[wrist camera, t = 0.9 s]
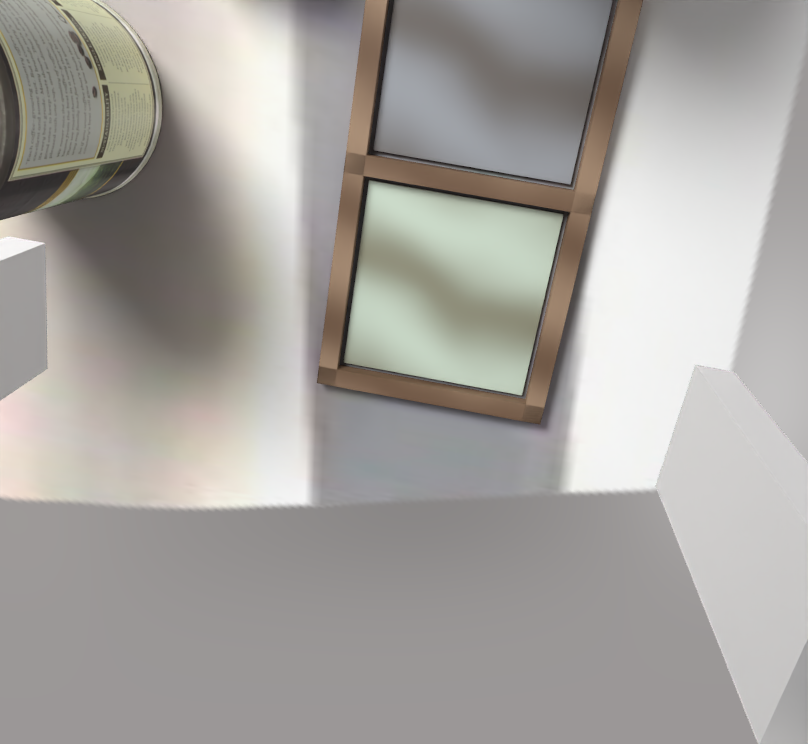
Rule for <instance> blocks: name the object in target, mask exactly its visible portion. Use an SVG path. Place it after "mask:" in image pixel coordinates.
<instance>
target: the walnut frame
mask: <svg viewBox="0 0 808 744" xmlns="http://www.w3.org/2000/svg"><path fill="white" fill-rule="evenodd" d="M612 1H613V0H394V5H393V13H392V20H391V27H390V34H389V41H388V48H387V56H386V63H385V70H384V77H383V84H382V92H381V99H380V106H379V113H378V120H377V128H376V135H375V142H374V149H373V150H375V151H381V152H386V153H392V154H398V155H404V156H409V157H415V158H421V159H427V160H432V161H438V162H444V163H450V164H456V165H461V166H467V167H473V168H479V169H484V170H490V171H496V172H502V173H507V174H513V175H519V176H525V177H531V178H536V179H542V180H548V181H554V182H559V183H565V184H571V180H572V175H573V171H574V167H575V162H576V158H577V154H578V149H579V145H580V141H581V136H582V132H583V128H584V123H585V119H586V115H587V110H588V106H589V101H590V97H591V93H592V88H593V84H594V80H595V75H596V71H597V67H598V62H599V58H600V54H601V49H602V45H603V41H604V36H605V32H606V28H607V23H608V19H609V15H610V10H611V6H612ZM642 2H643V0H618V2H617V6H616V10H615V15H614V19H613V23H612V27H611V32H610V36H609V40H608V45H607V49H606V53H605V58H604V62H603V66H602V71H601V75H600V79H599V83H598V88H597V92H596V96H595V101H594V105H593V109H592V114H591V118H590V122H589V127H588V131H587V135H586V139H585V144H584V148H583V152H582V157H581V161H580V165H579V170H578V174H577V178H576V183H575V187H574V190H572V189H566V188H560V187H554V186H549V185H543V184H537V183H531V182H526V181H520V180H514V179H508V178H503V177H497V176H491V175H485V174H479V173H474V172H468V171H462V170H456V169H451V168H445V167H439V166H433V165H428V164H422V163H416V162H410V161H405V160H399V159H393V158H387V157H382V156H376V155H370V154H368V153H369V146H370V138H371V131H372V124H373V117H374V109H375V102H376V95H377V87H378V80H379V73H380V66H381V58H382V51H383V44H384V36H385V29H386V22H387V15H388V7H389V0H366V1H365V9H364V17H363V25H362V33H361V40H360V48H359V56H358V64H357V72H356V80H355V88H354V95H353V103H352V111H351V119H350V127H349V135H348V143H347V150H346V158H345V166H344V174H343V182H342V190H341V198H340V205H339V213H338V221H337V229H336V237H335V245H334V253H333V260H332V268H331V276H330V284H329V292H328V300H327V308H326V315H325V323H324V331H323V339H322V347H321V355H320V362H319V370H318V378H317V383H320V384H325V385H331V386H336V387H341V388H347V389H352V390H358V391H363V392H368V393H374V394H379V395H384V396H390V397H395V398H401V399H406V400H411V401H417V402H422V403H427V404H433V405H438V406H444V407H449V408H454V409H460V410H465V411H470V412H476V413H481V414H487V415H492V416H497V417H503V418H508V419H513V420H519V421H524V422H530V423H535V424H540V423H541V419H542V415H543V411H544V407H545V402H546V398H547V394H548V390H549V386H550V382H551V378H552V374H553V369H554V365H555V361H556V357H557V353H558V349H559V345H560V341H561V336H562V332H563V328H564V324H565V320H566V316H567V312H568V308H569V303H570V299H571V295H572V291H573V287H574V283H575V279H576V275H577V270H578V266H579V262H580V258H581V254H582V250H583V246H584V242H585V237H586V233H587V229H588V225H589V221H590V217H591V213H592V209H593V204H594V200H595V196H596V192H597V188H598V184H599V180H600V176H601V172H602V167H603V163H604V159H605V155H606V151H607V147H608V143H609V139H610V134H611V130H612V126H613V122H614V118H615V114H616V110H617V106H618V101H619V97H620V93H621V89H622V85H623V81H624V77H625V73H626V68H627V64H628V60H629V56H630V52H631V48H632V44H633V40H634V35H635V31H636V27H637V23H638V19H639V15H640V11H641V7H642ZM365 176H368V177H373V178H379V179H385V180H390V181H396V182H402V183H408V184H413V185H419V186H425V187H431V188H436V189H442V190H448V191H453V192H459V193H465V194H471V195H476V196H482V197H488V198H494V199H499V200H505V201H511V202H516V203H522V204H528V205H534V206H539V207H545V208H551V209H556V210H562V211H568V212H569V213H568V217H567V221H566V226H565V230H564V234H563V239H562V243H561V247H560V251H559V256H558V260H557V264H556V269H555V273H554V277H553V282H552V286H551V290H550V295H549V299H548V303H547V308H546V312H545V316H544V320H543V325H542V329H541V333H540V338H539V342H538V346H537V351H536V355H535V359H534V364H533V368H532V372H531V376H530V381H529V385H528V389H527V394H526V398H525V399H522V398H517V397H511V396H506V395H500V394H495V393H490V392H484V391H479V390H473V389H468V388H463V387H457V386H452V385H446V384H441V383H436V382H430V381H425V380H419V379H414V378H408V377H403V376H398V375H392V374H387V373H381V372H376V371H371V370H365V369H360V368H354V367H349V366H344V365H339V364H340V357H341V350H342V342H343V335H344V328H345V321H346V313H347V306H348V299H349V291H350V284H351V277H352V270H353V262H354V255H355V248H356V240H357V233H358V226H359V219H360V211H361V204H362V197H363V189H364V182H365ZM563 215H564V214H561V213H556V212H550V211H544V210H538V209H533V208H527V207H521V206H515V205H510V204H504V203H498V202H493V201H487V200H481V199H475V198H470V197H464V196H458V195H453V194H447V193H441V192H435V191H430V190H424V189H418V188H413V187H407V186H401V185H395V184H390V183H384V182H378V181H372V180H369V185H368V192H367V199H366V207H365V214H364V221H363V228H362V235H361V242H360V250H359V257H358V264H357V271H356V278H355V286H354V293H353V300H352V307H351V314H350V321H349V329H348V336H347V343H346V350H345V357H344V363H349V364H354V365H360V366H365V367H371V368H376V369H381V370H387V371H392V372H398V373H403V374H408V375H414V376H419V377H425V378H430V379H436V380H441V381H446V382H452V383H457V384H463V385H468V386H473V387H479V388H484V389H490V390H495V391H501V392H506V393H511V394H517V395H522V393H523V388H524V384H525V380H526V375H527V371H528V367H529V362H530V358H531V354H532V349H533V345H534V341H535V336H536V332H537V328H538V323H539V319H540V315H541V310H542V306H543V301H544V297H545V293H546V288H547V284H548V280H549V275H550V271H551V267H552V262H553V258H554V254H555V249H556V245H557V241H558V236H559V232H560V228H561V223H562V219H563Z"/></svg>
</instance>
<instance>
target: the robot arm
mask: <svg viewBox="0 0 808 744" xmlns="http://www.w3.org/2000/svg"><path fill="white" fill-rule="evenodd" d="M46 369H48V368H47V311H46V253H45V243H42V242H37V241H31V240H26V239H20V238H15V237H10V236H8V237H5V238H2V239H0V400H2V399H3V398H5V397H6V396H8V395H9V394H11V393H12V392H14V391H15V390H17V389H18V388H19V387H21V386H22V385H24V384H25V383H27V382H28V381H30V380H31V379H33V378H34V377H36V376H37V375H39V374H40V373H42V372H43V371H45V370H46ZM656 489H657V491H658V493H659V496H660V498H661V501H662V504H663V506H664V509H665V511H666V514H667V516H668V519H669V521H670V524H671V526H672V529H673V531H674V534H675V536H676V539H677V541H678V544H679V546H680V549H681V551H682V554H683V557H684V559H685V562H686V564H687V567H688V569H689V572H690V574H691V576H692V579H693V582H694V584H695V586H696V589H697V592H698V594H699V597H700V599H701V602H702V604H703V607H704V609H705V611H706V614H707V617H708V619H709V622H710V624H711V627H712V630H713V632H714V634H715V637H716V639H717V642H718V644H719V647H720V650H721V652H722V655H723V657H724V660H725V662H726V665H727V667H728V670H729V672H730V675H731V677H732V680H733V682H734V685H735V687H736V690H737V692H738V695H739V697H740V700H741V702H742V705H743V707H744V710H745V713H746V715H747V717H748V720H749V722H750V725H751V728H752V730H753V733H754V735H755V738H756V740H757V742H758V744H808V462H807V461H806V460H805V459H804V457H803V456H802V455H801V454H800V452H799V451H798V450H797V449H796V447H795V446H794V445H793V444H792V442H791V441H790V440H789V439H788V437H787V436H786V435H785V434H784V432H783V431H782V430H781V429H780V428H779V426H778V425H777V424H776V423H775V422H774V420H773V419H772V418H771V416H770V415H769V414H768V413H767V411H766V410H765V409H764V408H763V407H762V405H761V404H760V403H759V402H758V400H757V399H756V398H755V397H754V395H753V394H752V393H751V392H750V390H749V389H748V388H747V387H746V385H745V384H744V383H743V382H742V381H741V379H740V378H739V377H738V376H737V375H736V373H735V372H731V371H726V370H721V369H715V368H710V367H704V366H699V365H695V368H694V371H693V374H692V377H691V380H690V383H689V386H688V389H687V392H686V395H685V398H684V401H683V404H682V407H681V410H680V413H679V416H678V419H677V422H676V425H675V428H674V432H673V435H672V438H671V441H670V444H669V447H668V450H667V453H666V456H665V459H664V462H663V465H662V468H661V471H660V474H659V477H658V480H657V483H656Z"/></svg>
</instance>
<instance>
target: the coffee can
mask: <svg viewBox="0 0 808 744" xmlns="http://www.w3.org/2000/svg"><path fill="white" fill-rule="evenodd" d="M161 120H162V98H161V90H160V84H159V79H158V75H157V72H156V69H155V67H154V64H153V62H152V60H151V58H150V55H149V53H148V51H147V49H146V47H145V46H144V44H143V42H142V41H141V40H140V38H139V37H138V35H137V33H136V32H135V31H134V30H133V29H132V28H131V27H130V25H129V24H128V23H127V22H126V21H125V20H124V19H123V18H122V17H121V16H120V15H118V14H117V13H116V12H115V11H114V10H112V9H111V8H110V7H109V6H108V5H106V4H105V3H103V2H102V1H99V0H0V220H3V219H7V218H10V217H14V216H18V215H21V214H25V213H29V212H33V211H37V210H41V209H44V208H48V207H52V206H56V205H60V204H64V203H68V202H72V201H75V200H79V199H83V198H93V197H98V196H102V195H105V194H108V193H111V192H113V191H115V190H117V189H119V188H121V187H123V186H124V185H126V184H127V183H128V182H129V181H131V180H132V179H133V178H134V177H135V176H136V175H137V174H138V173H139V172H140V171H141V170H142V168H143V167H144V166H145V165H146V163H147V162H148V160H149V158H150V157H151V155H152V153H153V151H154V149H155V147H156V143H157V140H158V136H159V133H160V128H161Z"/></svg>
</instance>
